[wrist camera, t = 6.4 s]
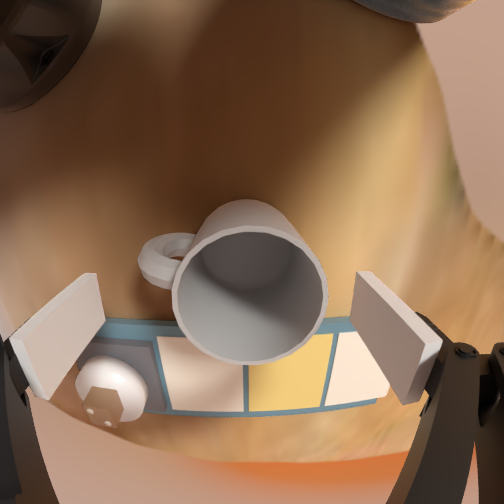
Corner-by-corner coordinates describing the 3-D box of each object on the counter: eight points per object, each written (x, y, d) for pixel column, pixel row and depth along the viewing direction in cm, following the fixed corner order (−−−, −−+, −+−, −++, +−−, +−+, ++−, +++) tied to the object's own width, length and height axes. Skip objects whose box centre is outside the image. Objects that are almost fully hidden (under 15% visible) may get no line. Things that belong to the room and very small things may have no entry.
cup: (282, 298, 23) (304, 371, 15) (156, 276, 22) (116, 341, 14) (304, 208, 21) (347, 241, 13) (167, 183, 20) (119, 201, 12)
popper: (75, 351, 21) (53, 382, 17) (140, 359, 22) (124, 396, 17) (95, 402, 23) (80, 433, 19) (154, 410, 24) (145, 446, 19)
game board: (69, 314, 23) (59, 324, 21) (406, 311, 24) (416, 321, 22) (98, 399, 26) (93, 410, 25) (380, 396, 28) (386, 407, 26)
